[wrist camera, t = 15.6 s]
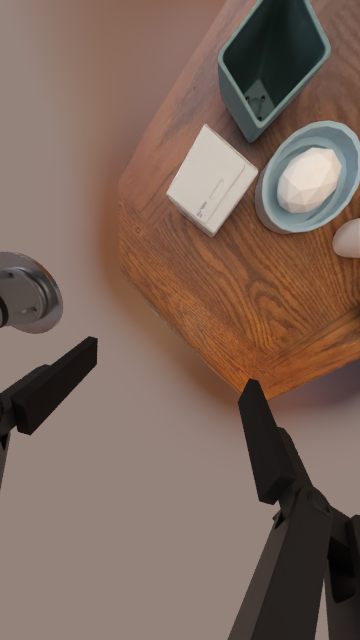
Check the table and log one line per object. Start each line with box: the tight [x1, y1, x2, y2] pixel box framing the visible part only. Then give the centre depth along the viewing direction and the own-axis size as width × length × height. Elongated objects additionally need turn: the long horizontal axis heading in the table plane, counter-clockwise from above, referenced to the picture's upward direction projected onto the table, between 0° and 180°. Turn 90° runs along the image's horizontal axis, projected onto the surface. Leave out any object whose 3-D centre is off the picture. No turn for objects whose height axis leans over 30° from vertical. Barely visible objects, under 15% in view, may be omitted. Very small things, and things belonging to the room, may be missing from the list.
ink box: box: [167, 124, 258, 238], centre depth 27 cm, size 9×8×12 cm
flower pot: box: [217, 0, 331, 143], centre depth 23 cm, size 9×9×9 cm
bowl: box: [254, 120, 360, 234], centre depth 28 cm, size 13×13×5 cm
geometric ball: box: [277, 148, 342, 213], centre depth 26 cm, size 8×8×8 cm
